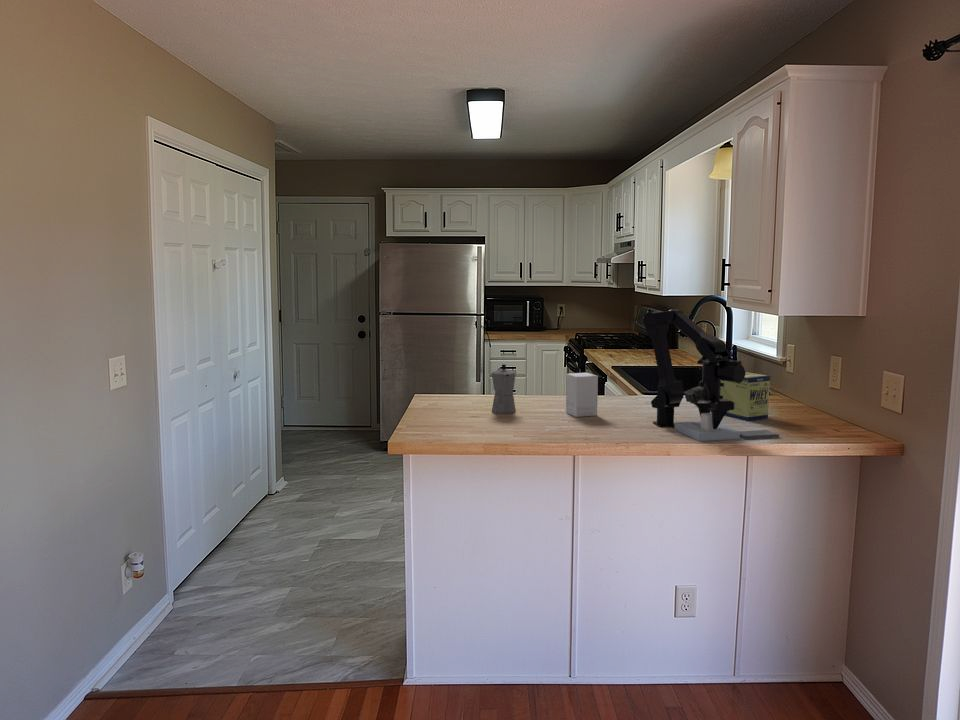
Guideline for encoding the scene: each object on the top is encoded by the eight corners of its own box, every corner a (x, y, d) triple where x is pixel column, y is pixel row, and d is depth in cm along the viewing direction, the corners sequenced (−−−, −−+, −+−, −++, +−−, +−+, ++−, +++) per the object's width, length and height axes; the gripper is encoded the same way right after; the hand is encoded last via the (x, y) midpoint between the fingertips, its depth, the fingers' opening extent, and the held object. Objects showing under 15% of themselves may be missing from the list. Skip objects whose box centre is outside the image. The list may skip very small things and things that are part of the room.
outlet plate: (674, 429, 230) (674, 422, 230) (712, 427, 233) (713, 420, 233) (698, 441, 215) (699, 433, 215) (739, 438, 218) (739, 430, 217)
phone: (733, 434, 223) (733, 431, 223) (766, 432, 225) (766, 429, 225) (744, 439, 217) (744, 436, 216) (778, 437, 219) (779, 434, 219)
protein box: (747, 421, 242) (749, 377, 240) (715, 413, 256) (716, 371, 254) (769, 418, 247) (771, 375, 245) (736, 410, 261) (737, 370, 259)
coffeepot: (520, 414, 255) (520, 366, 253) (495, 415, 253) (495, 367, 251) (510, 406, 270) (510, 361, 268) (486, 407, 268) (486, 361, 266)
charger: (700, 434, 224) (701, 413, 223) (712, 433, 224) (712, 412, 224) (706, 437, 220) (707, 415, 219) (718, 436, 221) (719, 415, 220)
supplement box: (598, 415, 252) (598, 375, 251) (575, 417, 250) (576, 376, 248) (586, 411, 261) (587, 372, 259) (565, 412, 258) (565, 373, 256)
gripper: (674, 375, 227) (672, 421, 229) (703, 384, 209) (701, 434, 211) (705, 374, 229) (703, 420, 231) (736, 383, 211) (734, 433, 213)
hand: (709, 426), depth 222 cm, fingers open, 6 cm apart
